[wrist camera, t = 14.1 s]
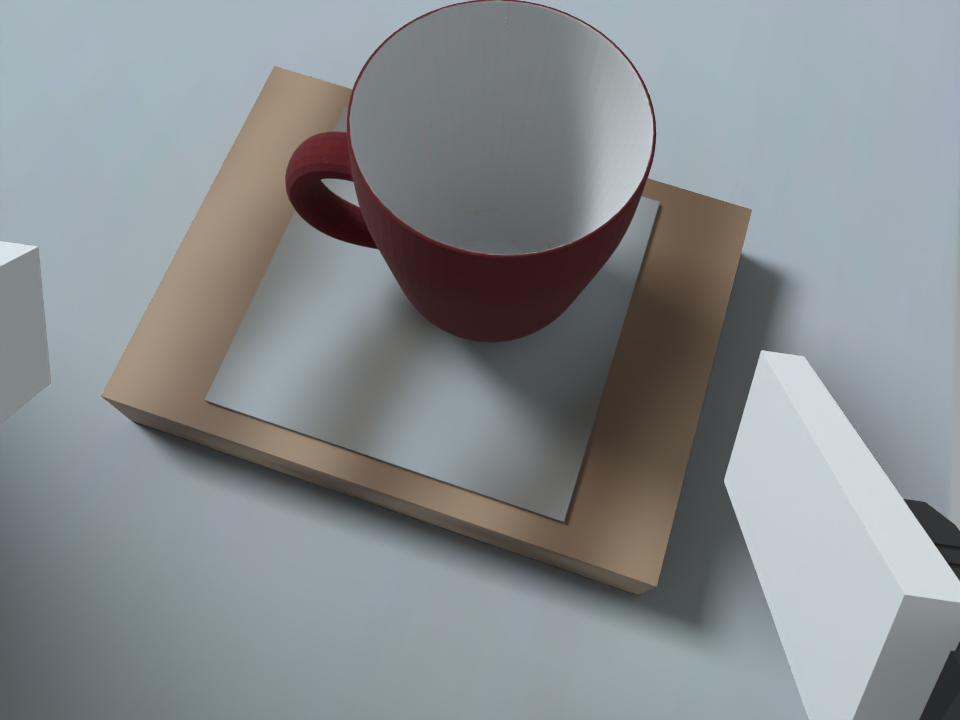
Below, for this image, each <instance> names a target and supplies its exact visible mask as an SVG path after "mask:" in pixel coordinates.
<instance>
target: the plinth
mask: <svg viewBox="0 0 960 720" xmlns="http://www.w3.org/2000/svg"><path fill="white" fill-rule="evenodd" d="M351 93H352V89H349V88H346V87H342V86H339V85H336V84H332V83H329V82H326V81H322V80H319V79H316V78H312V77H309V76H306V75H302V74H299V73H296V72H292V71H289V70H286V69H282V68H279V67H276V66H274V68H273V70H272V72H271V74H270V76H269V77H268V79H267V81H266V83H265V85H264V87H263V89H262V91H261V93H260V95H259V97H258V98H257V100H256V102H255V104H254V106H253V108H252V110H251V112H250V114H249V116H248V117H247V119H246V121H245V123H244V125H243V127H242V129H241V131H240V133H239V135H238V136H237V138H236V140H235V142H234V144H233V146H232V148H231V150H230V152H229V154H228V155H227V157H226V159H225V161H224V163H223V165H222V167H221V169H220V171H219V173H218V174H217V176H216V178H215V180H214V182H213V184H212V186H211V188H210V190H209V192H208V193H207V195H206V197H205V199H204V201H203V203H202V205H201V207H200V209H199V211H198V212H197V214H196V216H195V218H194V220H193V222H192V224H191V226H190V228H189V230H188V232H187V233H186V235H185V237H184V239H183V241H182V243H181V245H180V247H179V249H178V251H177V252H176V254H175V256H174V258H173V260H172V262H171V264H170V266H169V268H168V270H167V271H166V273H165V275H164V277H163V279H162V281H161V283H160V285H159V287H158V289H157V290H156V292H155V294H154V296H153V298H152V300H151V302H150V304H149V306H148V308H147V309H146V311H145V313H144V315H143V317H142V319H141V321H140V323H139V325H138V327H137V328H136V330H135V332H134V334H133V336H132V338H131V340H130V342H129V344H128V346H127V347H126V349H125V351H124V353H123V355H122V357H121V359H120V361H119V363H118V365H117V367H116V368H115V370H114V372H113V374H112V376H111V378H110V380H109V382H108V384H107V386H106V387H105V389H104V391H103V393H102V395H101V396H102V397H103V398H104V399H105V400H107V401H108V402H109V403H110V404H111V405H113V406H114V407H115V408H116V409H118V410H119V411H120V412H121V413H123V414H124V415H125V416H126V417H128V418H129V419H130V420H131V421H134V422H137V423H140V424H142V425H145V426H148V427H151V428H154V429H157V430H160V431H163V432H166V433H169V434H171V435H174V436H177V437H180V438H183V439H186V440H189V441H192V442H195V443H198V444H201V445H203V446H206V447H209V448H212V449H215V450H218V451H221V452H224V453H227V454H230V455H232V456H235V457H238V458H241V459H244V460H247V461H250V462H253V463H256V464H259V465H261V466H264V467H267V468H270V469H273V470H276V471H279V472H282V473H285V474H288V475H290V476H293V477H296V478H299V479H302V480H305V481H308V482H311V483H314V484H317V485H319V486H322V487H325V488H328V489H331V490H334V491H337V492H340V493H343V494H346V495H349V496H351V497H354V498H357V499H360V500H363V501H366V502H369V503H372V504H375V505H378V506H380V507H383V508H386V509H389V510H392V511H395V512H398V513H401V514H404V515H407V516H409V517H412V518H415V519H418V520H421V521H424V522H427V523H430V524H433V525H436V526H438V527H441V528H444V529H447V530H450V531H453V532H456V533H459V534H462V535H465V536H467V537H470V538H473V539H476V540H479V541H482V542H485V543H488V544H491V545H494V546H497V547H499V548H502V549H505V550H508V551H511V552H514V553H517V554H520V555H523V556H526V557H528V558H531V559H534V560H537V561H540V562H543V563H546V564H549V565H552V566H555V567H557V568H560V569H563V570H566V571H569V572H572V573H575V574H578V575H581V576H584V577H586V578H589V579H592V580H595V581H598V582H601V583H604V584H607V585H610V586H613V587H615V588H618V589H621V590H624V591H627V592H630V593H633V594H636V595H639V594H642V593H644V592H646V591H648V590H650V589H653V588H655V587H657V583H658V579H659V576H660V572H661V568H662V564H663V560H664V556H665V552H666V548H667V544H668V540H669V536H670V532H671V528H672V524H673V520H674V516H675V512H676V508H677V504H678V500H679V496H680V492H681V489H682V485H683V481H684V477H685V473H686V469H687V465H688V461H689V457H690V453H691V449H692V445H693V441H694V437H695V433H696V429H697V425H698V421H699V417H700V413H701V409H702V405H703V402H704V398H705V394H706V390H707V386H708V382H709V378H710V374H711V370H712V366H713V362H714V358H715V354H716V350H717V346H718V342H719V338H720V334H721V330H722V326H723V322H724V318H725V314H726V311H727V307H728V303H729V299H730V295H731V291H732V287H733V283H734V279H735V275H736V271H737V267H738V263H739V259H740V255H741V251H742V247H743V243H744V239H745V235H746V231H747V227H748V224H749V220H750V216H751V212H752V210H751V209H748V208H744V207H741V206H738V205H734V204H731V203H728V202H724V201H721V200H718V199H714V198H711V197H708V196H704V195H701V194H698V193H694V192H691V191H688V190H685V189H681V188H678V187H675V186H671V185H668V184H665V183H661V182H658V181H655V180H651V179H648V178H647V181H646V184H645V187H644V190H643V193H642V196H641V199H640V202H639V204H638V207H637V209H636V212H635V215H634V217H633V219H632V221H631V224H630V226H629V228H628V230H627V232H626V234H625V235H624V237H623V239H622V241H621V242H620V244H619V246H618V247H617V249H616V250H615V252H614V253H613V254H612V256H611V257H610V258H609V260H608V261H607V262H606V263H605V265H604V266H603V267H602V268H601V270H600V271H599V272H598V273H597V274H596V276H595V277H594V278H593V279H592V280H591V282H590V283H589V284H588V285H587V286H586V287H585V289H584V290H583V291H582V292H581V293H580V295H579V296H578V297H577V298H576V299H575V300H574V302H573V303H572V304H571V305H570V306H569V307H568V308H567V309H566V311H565V312H563V313H562V314H561V315H560V316H559V317H558V318H557V319H556V320H554V321H553V322H552V323H550V324H549V325H547V326H546V327H544V328H542V329H541V330H539V331H537V332H535V333H533V334H531V335H528V336H525V337H523V338H520V339H515V340H511V341H504V342H492V343H490V342H477V341H471V340H467V339H463V338H460V337H457V336H454V335H452V334H450V333H447V332H445V331H444V330H442V329H440V328H438V327H437V326H435V325H434V324H432V323H431V322H430V321H428V320H427V319H426V318H425V317H424V316H422V315H421V314H420V313H419V312H418V311H417V310H416V309H415V307H414V306H413V305H412V304H411V302H410V301H409V300H408V298H407V297H406V296H405V294H404V292H403V291H402V289H401V288H400V286H399V284H398V282H397V281H396V279H395V277H394V275H393V274H392V272H391V270H390V268H389V267H388V265H387V263H386V261H385V260H384V258H383V256H382V255H381V253H380V251H379V249H373V248H368V247H363V246H358V245H354V244H350V243H347V242H344V241H341V240H337V239H335V238H333V237H330V236H328V235H326V234H324V233H322V232H320V231H318V230H317V229H315V228H314V227H312V226H311V225H309V224H308V223H307V222H306V221H305V220H304V219H302V218H301V216H300V215H299V214H298V213H297V212H296V210H295V209H294V207H293V206H292V204H291V202H290V201H289V199H288V195H287V192H286V186H285V174H286V169H287V166H288V163H289V161H290V158H291V156H292V154H293V152H294V151H295V150H296V149H297V148H298V146H299V145H300V144H301V143H302V142H303V141H305V140H306V139H308V138H309V137H311V136H314V135H316V134H319V133H325V132H347V113H348V106H349V101H350V97H351ZM321 181H322V182H323V183H324V184H325V185H326V186H327V188H329V189H330V190H331V191H332V192H334V193H335V194H336V195H338V196H339V197H341V198H342V199H344V200H346V201H348V202H350V203H352V204H354V205H356V206H358V207H360V206H359V203H358V199H357V195H356V191H355V186H354V182H351V181H347V180H340V179H321Z"/></svg>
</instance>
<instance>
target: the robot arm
mask: <svg viewBox="0 0 960 720" xmlns="http://www.w3.org/2000/svg"><path fill="white" fill-rule="evenodd" d="M50 383H51V377H50V367H49V356H48V345H47V334H46V324H45V313H44V302H43V292H42V281H41V270H40V259H39V249H38V247H37V246H30V245H23V244H16V243H9V242H2V241H0V424H1V423H2V422H3V421H4V420H6V419H7V418H8V417H9V416H11V415H12V414H13V413H14V412H16V411H17V410H18V409H19V408H20V407H22V406H23V405H24V404H25V403H27V402H28V401H29V400H30V399H32V398H33V397H34V396H35V395H37V394H38V393H39V392H40V391H42V390H43V389H44V388H45V387H47V386H48V385H49V384H50ZM724 483H725V486H726V488H727V491H728V494H729V497H730V500H731V502H732V505H733V508H734V511H735V514H736V516H737V519H738V522H739V525H740V528H741V530H742V533H743V536H744V539H745V542H746V544H747V547H748V550H749V553H750V556H751V558H752V561H753V564H754V567H755V570H756V572H757V575H758V578H759V581H760V584H761V586H762V589H763V592H764V595H765V598H766V600H767V603H768V606H769V609H770V612H771V614H772V617H773V620H774V623H775V626H776V628H777V631H778V634H779V637H780V640H781V642H782V645H783V648H784V651H785V654H786V656H787V659H788V662H789V665H790V668H791V670H792V673H793V676H794V679H795V682H796V684H797V687H798V690H799V693H800V696H801V698H802V701H803V704H804V707H805V710H806V712H807V715H808V718H809V720H960V531H959V530H958V528H957V527H956V525H955V524H953V523H952V522H951V521H949V520H948V519H947V518H945V517H944V516H943V515H941V514H940V513H939V512H938V511H936V510H935V509H934V508H932V507H931V506H930V505H928V504H927V503H926V502H921V501H914V500H907V499H902V497H901V496H900V494H899V493H898V491H897V490H896V488H895V487H894V486H893V484H892V483H891V481H890V480H889V478H888V477H887V475H886V474H885V473H884V471H883V470H882V468H881V467H880V465H879V464H878V462H877V461H876V460H875V458H874V457H873V455H872V454H871V452H870V451H869V449H868V448H867V447H866V445H865V444H864V442H863V441H862V439H861V438H860V436H859V435H858V434H857V432H856V431H855V429H854V428H853V426H852V425H851V423H850V422H849V421H848V419H847V418H846V416H845V415H844V413H843V412H842V410H841V409H840V408H839V406H838V405H837V403H836V402H835V400H834V399H833V397H832V396H831V395H830V393H829V392H828V390H827V389H826V387H825V386H824V384H823V383H822V382H821V380H820V379H819V377H818V376H817V374H816V373H815V371H814V370H813V369H812V367H811V366H810V364H809V363H808V361H807V360H806V358H805V357H804V356H798V355H791V354H784V353H777V352H770V351H763V350H761V353H760V356H759V360H758V363H757V367H756V370H755V374H754V377H753V381H752V384H751V388H750V391H749V395H748V398H747V402H746V405H745V409H744V412H743V416H742V419H741V423H740V426H739V430H738V433H737V437H736V440H735V444H734V447H733V451H732V454H731V458H730V461H729V465H728V468H727V472H726V475H725V479H724Z"/></svg>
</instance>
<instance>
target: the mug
mask: <svg viewBox="0 0 960 720" xmlns="http://www.w3.org/2000/svg"><path fill="white" fill-rule="evenodd" d="M655 144H656V121H655V115H654V109H653V106H652V102H651V99H650V95H649V93H648V91H647V88H646V86H645V84H644V82H643V80H642V78H641V76H640V74H639V73H638V71H637V70H636V68H635V67H634V65H633V64H632V62H631V61H630V60H629V59H628V57H627V56H626V55H625V54H624V53H623V52H622V51H621V50H620V49H619V48H618V47H617V46H616V45H615V44H614V43H613V42H612V41H611V40H610V39H609V38H607V37H606V36H605V35H604V34H602V33H601V32H600V31H598V30H597V29H595V28H594V27H592V26H591V25H589V24H587V23H585V22H584V21H582V20H580V19H578V18H576V17H574V16H572V15H570V14H568V13H565V12H562V11H560V10H557V9H554V8H551V7H547V6H544V5H540V4H536V3H531V2H525V1H517V0H476V1H468V2H463V3H457V4H453V5H450V6H446V7H442V8H440V9H437V10H434V11H431V12H429V13H427V14H425V15H422V16H420V17H418V18H416V19H414V20H413V21H411V22H409V23H407V24H406V25H404V26H403V27H401V28H400V29H399V30H397V31H396V32H394V33H393V34H392V35H391V36H390V37H388V38H387V39H386V40H385V41H384V42H383V43H382V44H381V45H380V46H379V47H378V48H377V49H376V50H375V51H374V53H373V54H372V55H371V57H370V58H369V59H368V60H367V62H366V64H365V65H364V67H363V68H362V70H361V72H360V74H359V76H358V78H357V80H356V82H355V85H354V87H353V90H352V93H351V97H350V101H349V106H348V113H347V132H325V133H319V134H316V135H314V136H311V137H309V138H308V139H306V140H305V141H303V142H302V143H301V144H300V145H299V146H298V148H297V149H296V150H295V151H294V152H293V154H292V156H291V158H290V161H289V163H288V166H287V169H286V174H285V186H286V192H287V195H288V199H289V201H290V202H291V204H292V206H293V207H294V209H295V210H296V212H297V213H298V214H299V215H300V216H301V218H302V219H304V220H305V221H306V222H307V223H308V224H309V225H311V226H312V227H314V228H315V229H317V230H318V231H320V232H322V233H324V234H326V235H328V236H330V237H333V238H335V239H337V240H341V241H344V242H347V243H350V244H354V245H358V246H363V247H368V248H373V249H379V251H380V253H381V255H382V256H383V258H384V260H385V261H386V263H387V265H388V267H389V268H390V270H391V272H392V274H393V275H394V277H395V279H396V281H397V282H398V284H399V286H400V288H401V289H402V291H403V292H404V294H405V296H406V297H407V298H408V300H409V301H410V302H411V304H412V305H413V306H414V307H415V309H416V310H417V311H418V312H419V313H420V314H421V315H422V316H424V317H425V318H426V319H427V320H428V321H430V322H431V323H432V324H434V325H435V326H437V327H438V328H440V329H442V330H444V331H445V332H447V333H450V334H452V335H454V336H457V337H460V338H463V339H467V340H471V341H477V342H490V343H492V342H504V341H511V340H515V339H520V338H523V337H525V336H528V335H531V334H533V333H535V332H537V331H539V330H541V329H542V328H544V327H546V326H547V325H549V324H550V323H552V322H553V321H554V320H556V319H557V318H558V317H559V316H560V315H561V314H562V313H563V312H565V311H566V309H567V308H568V307H569V306H570V305H571V304H572V303H573V302H574V300H575V299H576V298H577V297H578V296H579V295H580V293H581V292H582V291H583V290H584V289H585V287H586V286H587V285H588V284H589V283H590V282H591V280H592V279H593V278H594V277H595V276H596V274H597V273H598V272H599V271H600V270H601V268H602V267H603V266H604V265H605V263H606V262H607V261H608V260H609V258H610V257H611V256H612V254H613V253H614V252H615V250H616V249H617V247H618V246H619V244H620V242H621V241H622V239H623V237H624V235H625V234H626V232H627V230H628V228H629V226H630V224H631V221H632V219H633V217H634V215H635V212H636V209H637V207H638V204H639V202H640V199H641V196H642V193H643V190H644V187H645V184H646V181H647V178H648V175H649V172H650V169H651V166H652V162H653V157H654V152H655ZM321 179H340V180H347V181H351V182H354V186H355V191H356V195H357V199H358V203H359V206H360V207H358V206H356V205H354V204H352V203H350V202H348V201H346V200H344V199H342V198H341V197H339V196H338V195H336V194H335V193H334V192H332V191H331V190H330V189H329V188H327V186H326V185H325V184H324V183H323V182H322V181H321Z"/></svg>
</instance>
